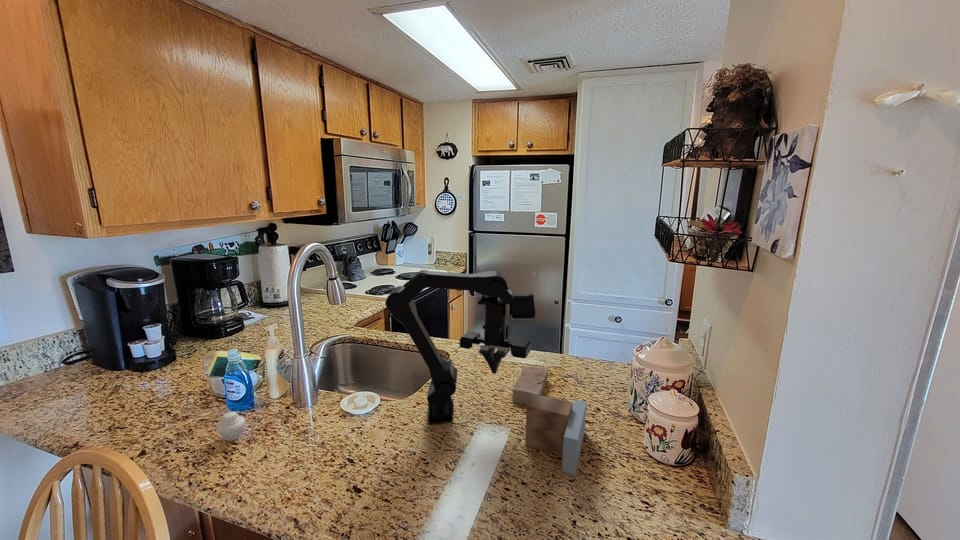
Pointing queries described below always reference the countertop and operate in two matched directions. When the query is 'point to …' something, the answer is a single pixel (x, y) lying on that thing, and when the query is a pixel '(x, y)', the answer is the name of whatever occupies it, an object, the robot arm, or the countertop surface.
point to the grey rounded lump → (231, 426)
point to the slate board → (574, 437)
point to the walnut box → (547, 423)
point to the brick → (529, 384)
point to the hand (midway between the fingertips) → (494, 373)
